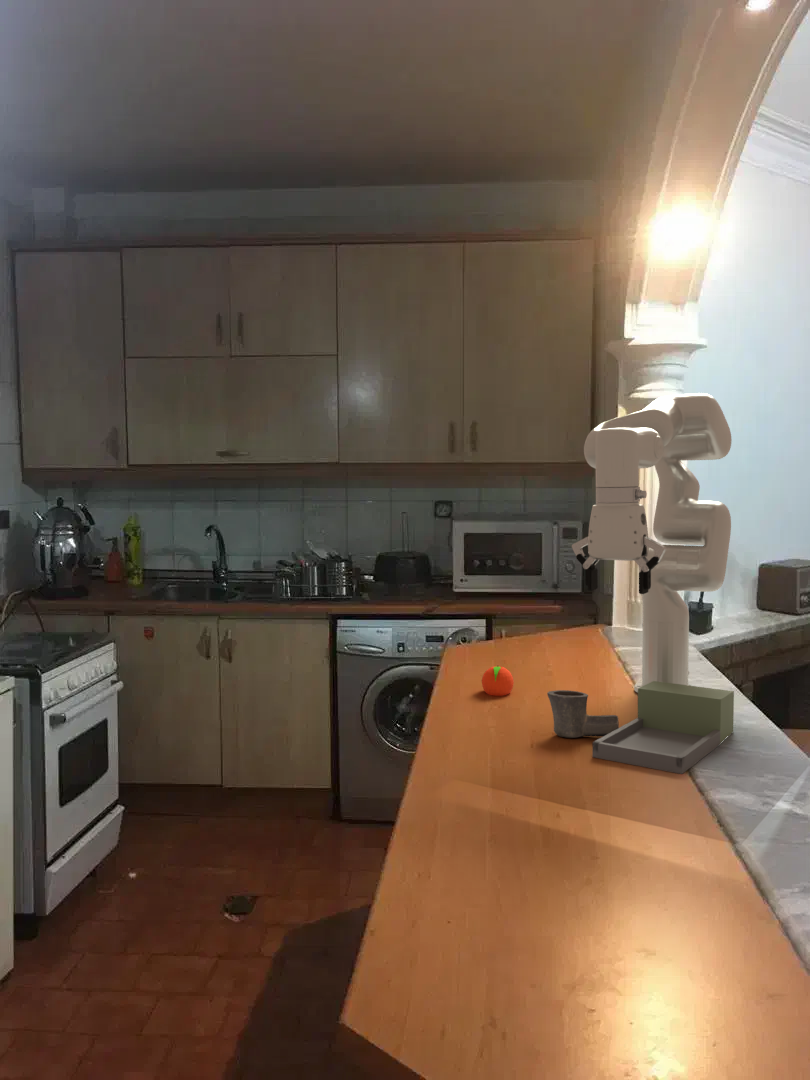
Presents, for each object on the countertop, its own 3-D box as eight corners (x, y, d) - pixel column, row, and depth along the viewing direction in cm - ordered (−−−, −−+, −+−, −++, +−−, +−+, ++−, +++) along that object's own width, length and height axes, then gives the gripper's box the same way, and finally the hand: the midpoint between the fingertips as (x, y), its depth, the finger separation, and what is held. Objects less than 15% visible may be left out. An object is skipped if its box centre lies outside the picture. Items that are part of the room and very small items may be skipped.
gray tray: (653, 722, 164) (653, 681, 164) (733, 734, 155) (733, 691, 155) (592, 757, 142) (592, 709, 141) (682, 774, 133) (682, 723, 133)
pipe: (619, 743, 150) (619, 698, 149) (545, 739, 153) (545, 695, 152) (618, 734, 156) (618, 691, 155) (548, 730, 159) (548, 688, 158)
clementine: (511, 703, 180) (512, 670, 180) (479, 701, 181) (479, 668, 181) (514, 695, 188) (515, 663, 187) (483, 693, 189) (483, 661, 189)
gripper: (671, 496, 151) (671, 591, 152) (580, 496, 161) (581, 586, 162) (657, 498, 145) (658, 597, 146) (563, 498, 155) (564, 591, 156)
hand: (617, 591), depth 154 cm, fingers open, 9 cm apart
